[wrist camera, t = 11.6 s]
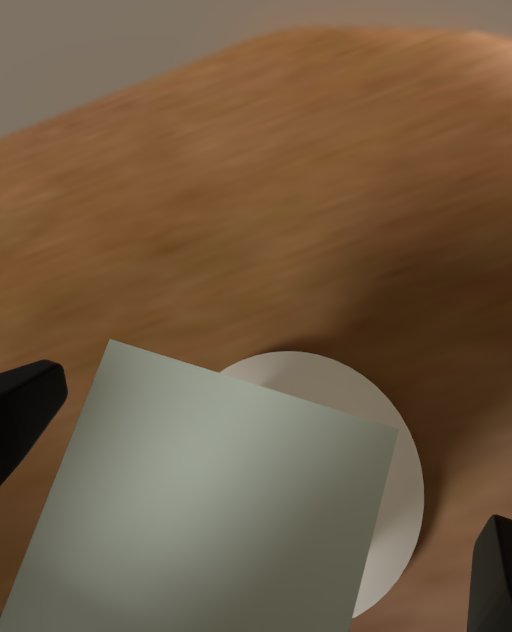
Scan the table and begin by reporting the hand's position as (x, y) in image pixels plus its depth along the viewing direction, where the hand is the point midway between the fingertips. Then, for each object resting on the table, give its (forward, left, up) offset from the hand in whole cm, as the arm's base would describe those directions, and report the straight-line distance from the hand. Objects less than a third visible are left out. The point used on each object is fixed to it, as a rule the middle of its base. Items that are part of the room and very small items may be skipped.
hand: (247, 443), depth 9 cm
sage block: (-1, +1, -9) cm, 9 cm away
